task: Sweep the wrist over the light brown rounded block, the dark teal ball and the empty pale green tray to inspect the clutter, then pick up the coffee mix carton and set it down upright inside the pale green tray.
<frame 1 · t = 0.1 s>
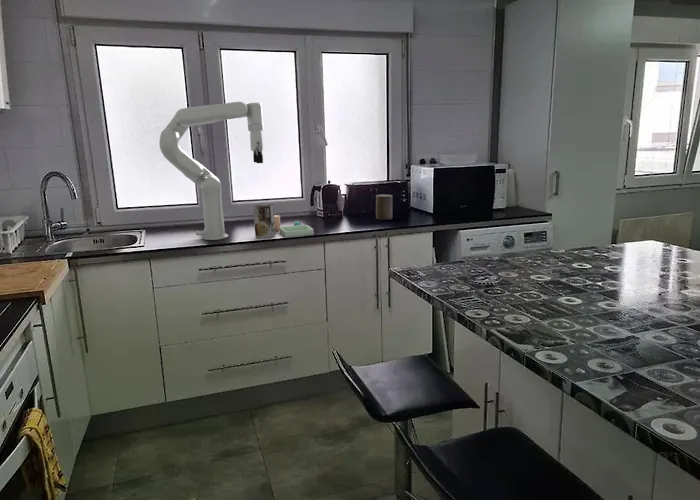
hand: (258, 162, 258), 37 cm above the countertop, tool pointing down, fingers open, 9 cm apart
coffee box: (265, 237, 258), on the countertop
ball: (297, 228, 278), on the countertop
tray: (296, 233, 263), on the countertop
pillar candle: (384, 218, 301), on the countertop
light brown rounded block: (274, 230, 273), on the countertop
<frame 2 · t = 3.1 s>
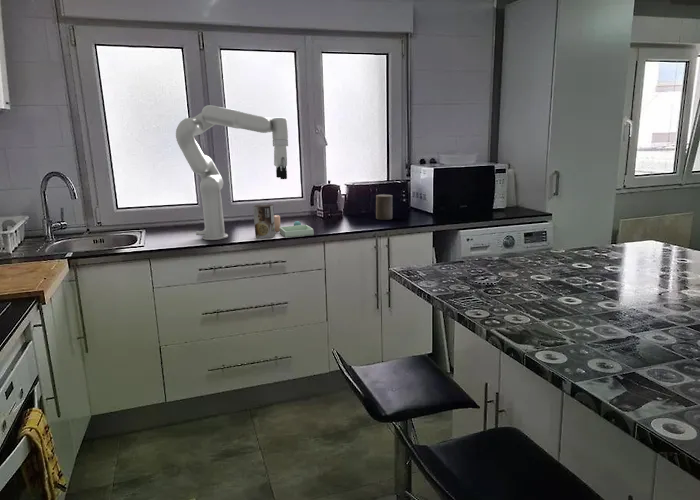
hand: (281, 178, 255), 29 cm above the countertop, tool pointing down, fingers open, 9 cm apart
nothing on the countertop moved.
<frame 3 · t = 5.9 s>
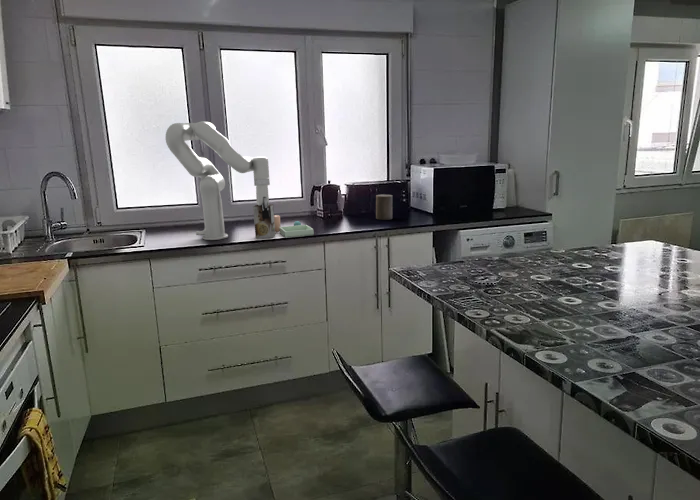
hand: (264, 217, 256), 10 cm above the countertop, tool pointing down, fingers closed on coffee box, 8 cm apart
coffee box: (265, 237, 258), on the countertop, touching gripper
everything else where it was.
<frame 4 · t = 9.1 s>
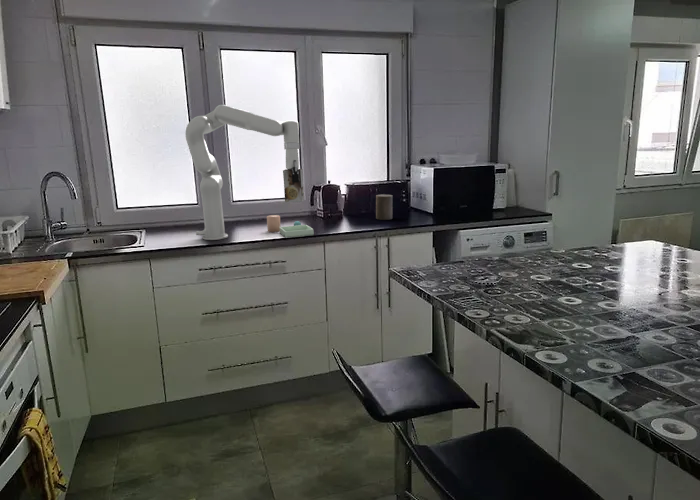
hand: (293, 181, 257), 27 cm above the countertop, tool pointing down, fingers closed on coffee box, 8 cm apart
coffee box: (294, 201, 259), point 17 cm above the countertop, touching gripper
everything else where it was.
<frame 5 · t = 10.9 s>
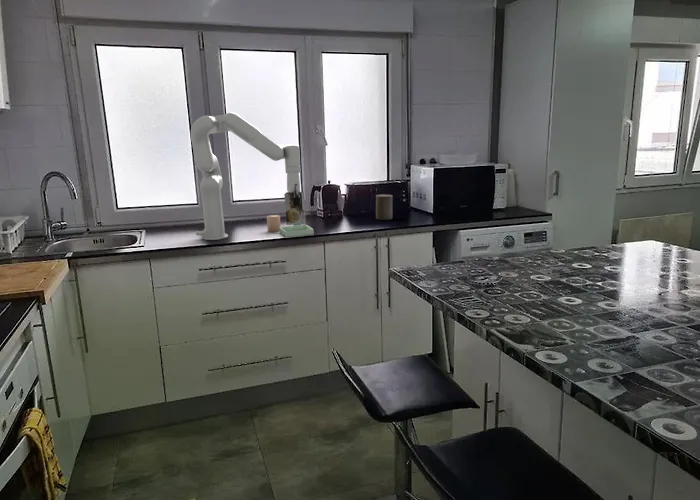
hand: (295, 204, 260), 15 cm above the countertop, tool pointing down, fingers closed on coffee box, 8 cm apart
coffee box: (296, 224, 262), point 5 cm above the countertop, touching gripper
everything else where it was.
when the fingers open (12 cm above the countertop, at t = 12.4 s): coffee box drops 1 cm, resting on tray.
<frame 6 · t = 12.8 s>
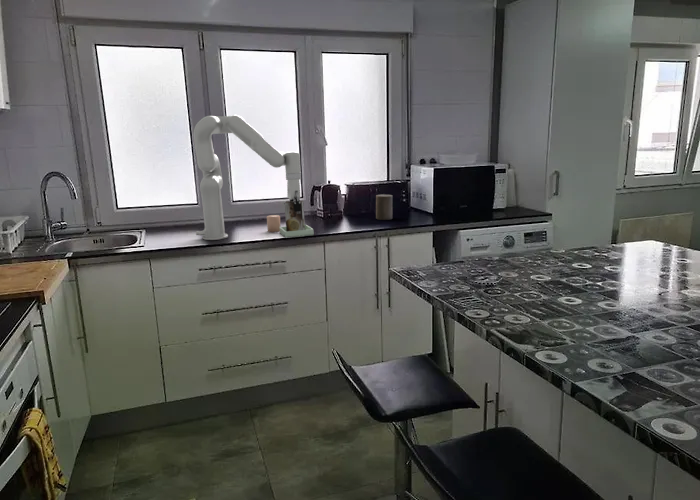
hand: (295, 210, 260), 12 cm above the countertop, tool pointing down, fingers open, 9 cm apart
coffee box: (295, 233, 263), resting on tray
everything else where it was.
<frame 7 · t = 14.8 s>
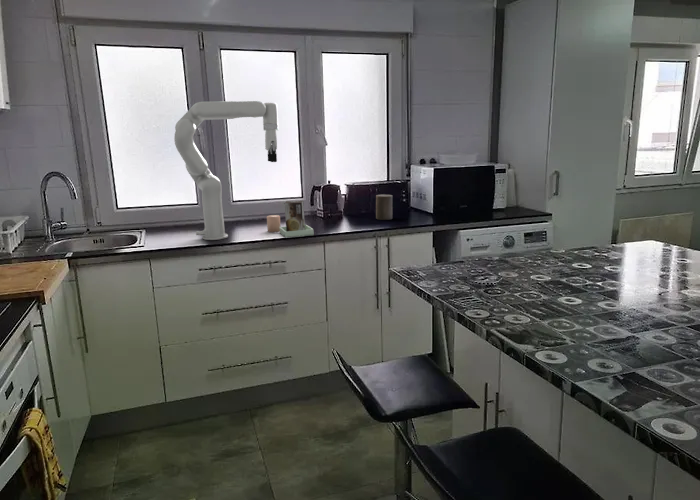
hand: (272, 161, 264), 37 cm above the countertop, tool pointing down, fingers open, 9 cm apart
nothing on the countertop moved.
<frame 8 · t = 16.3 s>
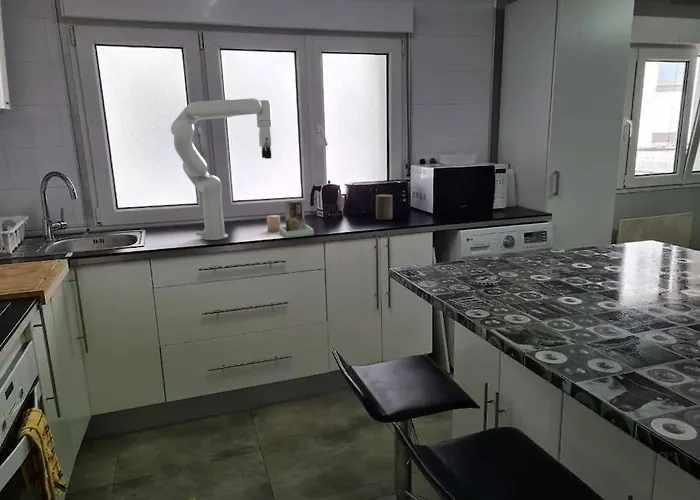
hand: (266, 158, 267), 38 cm above the countertop, tool pointing down, fingers open, 9 cm apart
nothing on the countertop moved.
at the end: coffee box inside the target area on the tray (0.4 cm from its centre), point 0.4 cm above the tray's base; coffee box tilted 0°; the gripper is holding nothing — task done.
